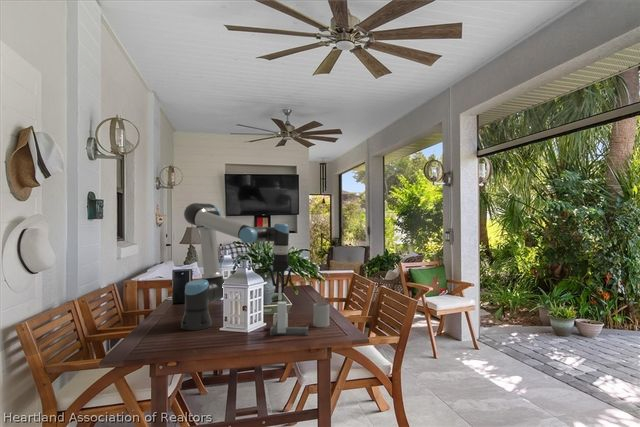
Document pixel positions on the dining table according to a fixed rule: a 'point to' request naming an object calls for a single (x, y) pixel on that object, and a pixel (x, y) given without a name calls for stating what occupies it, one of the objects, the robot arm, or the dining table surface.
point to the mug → (321, 315)
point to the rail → (290, 331)
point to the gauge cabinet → (276, 320)
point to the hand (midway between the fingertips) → (279, 299)
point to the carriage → (281, 317)
